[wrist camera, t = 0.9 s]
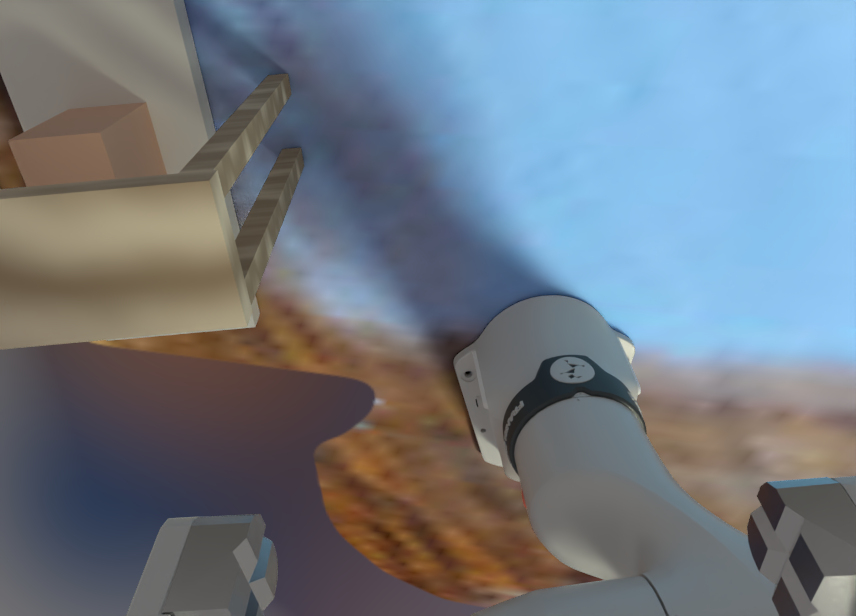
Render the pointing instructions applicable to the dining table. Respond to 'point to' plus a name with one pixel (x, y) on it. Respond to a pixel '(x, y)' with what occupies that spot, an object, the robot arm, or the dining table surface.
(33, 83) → the tray
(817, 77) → the dining table surface
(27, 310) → the arch
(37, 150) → the block
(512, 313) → the robot arm
